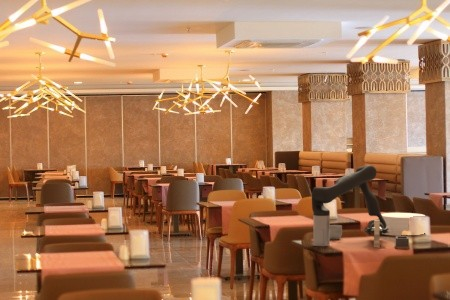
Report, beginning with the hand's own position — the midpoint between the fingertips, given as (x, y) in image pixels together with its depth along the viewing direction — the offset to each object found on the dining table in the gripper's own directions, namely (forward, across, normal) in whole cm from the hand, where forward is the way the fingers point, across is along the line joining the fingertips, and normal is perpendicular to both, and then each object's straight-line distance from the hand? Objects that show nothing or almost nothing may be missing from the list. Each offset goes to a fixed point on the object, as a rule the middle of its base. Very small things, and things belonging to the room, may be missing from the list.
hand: (376, 232), depth 508 cm
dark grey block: (-3, +14, +8) cm, 17 cm away
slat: (-3, 0, +8) cm, 9 cm away
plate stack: (-66, +16, +9) cm, 69 cm away
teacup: (-33, -26, +9) cm, 43 cm away
